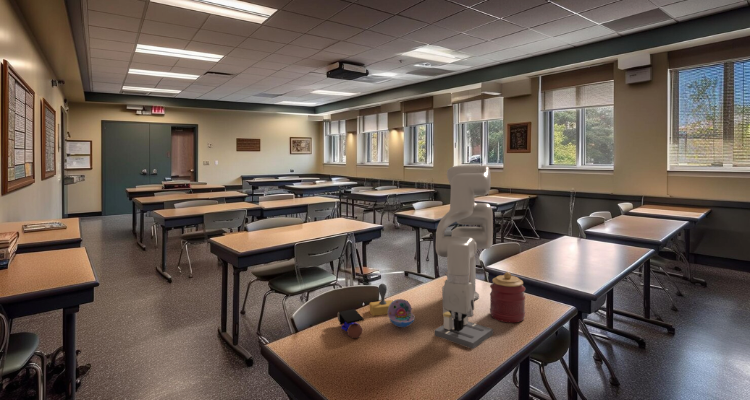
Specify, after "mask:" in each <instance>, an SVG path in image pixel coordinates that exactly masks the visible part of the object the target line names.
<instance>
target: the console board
mask: <svg viewBox="0 0 750 400" xmlns="http://www.w3.org/2000/svg"><path fill="white" fill-rule="evenodd" d="M493 335H494V329H493V328H491V327H488V326H484V325H482V324H477V323H475V322H471V321H468V324H466V325H464V327H463V329H462V330H460V331H459V332H458V331H457V330H456V331H455V330H454V319H453V328H452V329H450V330H448V329H445V328H444V324H442V325H440V326H439V327H437V328H436V329H434V336H435V337H437V338H440V339H444V340H445V341H449V342H453V343H454V344H458V345H460V346H463V347H466V348H469V349H472V350H474V349H475V348H477V347H478V346H479V345H481V344H482V343H483V342H484V341H486V340H488V339H489V338H490V337H492V336H493Z"/></svg>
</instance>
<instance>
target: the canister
mask: <svg viewBox="0 0 750 400" xmlns="http://www.w3.org/2000/svg"><path fill="white" fill-rule="evenodd" d="M491 281H492V283H491V284H490V285H489V288H490V289H491V292H490V293H489V297H490V302H489V303H490V306H489V307H490V308H489V313H490V317H491V318H493V319H494V320H496V321H499V322H503V323H512V324H513V323H514V324H515V323H520V322H522V321H523V320H525V317H526V311H525V310H526V309H525V308H526V307H525V304H526V303H525V302H526V296H525V291H526V287H525V286H524V281H523V280H522V279H520V277H517V276H515V275H512V274H511V272H508V271H507V272H505V273H504V274H503V275H502V274H500V275H497V276H496V277H494V278H492V280H491Z"/></svg>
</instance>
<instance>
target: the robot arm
mask: <svg viewBox="0 0 750 400" xmlns="http://www.w3.org/2000/svg"><path fill="white" fill-rule="evenodd" d="M446 177H447V180H448V182H449V185H450V202H449V210H448V211H447V212H446V213H445V214H444V215H443V216H442V218H441V219H440V221H439V222H438V224H437V227H436V232H435V234H436V236H435V253H436V254H437V256H439V257H442V258H447V259H446V260H447V263H446V264H447V266H446V267H447V268H446V269H447V271H444V276H446V279H445V280H444V283H443V286H444V289H443V296H442V308H443V307H444V309H445V310H447V311H449V312H450V314H451V315H452V318H453V319H454V330H455V331H456V330H457V331H458V332H459V331H460V330H462V329H463V327H464V318H465V317H468V318H472V317H474V309H475V301H476V300H478V299H479V298H480V294H479V293H478V292H477V291H476V275H477V274H476V264H477V263H476V256H475V255H476V254H477V251H478V250H489V249H491V248H492V246H493V243H494V242H493V239H494V237H493V235H494V234H493V233H494V226H493V225H494V224H493V223H494V221H493V219H494V216H493V214H494V213H493V209H492V206H491V205H490V204H489V203H487V202H475V196H487V195H488V194H489V193H490V191H491V186H492V180H491V179H492V178H491V169H490V168H489V166H487V165H455V166H450V167H449V168H447V171H446ZM454 223H457V224H458V225H467V226H457V227H455V228H454V229H452V232H451V236H450V235H448V236H447V235H445V231H446V230H447V228H448V227H449V226H451V225H452V224H454ZM468 225H469V226H468Z"/></svg>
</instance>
